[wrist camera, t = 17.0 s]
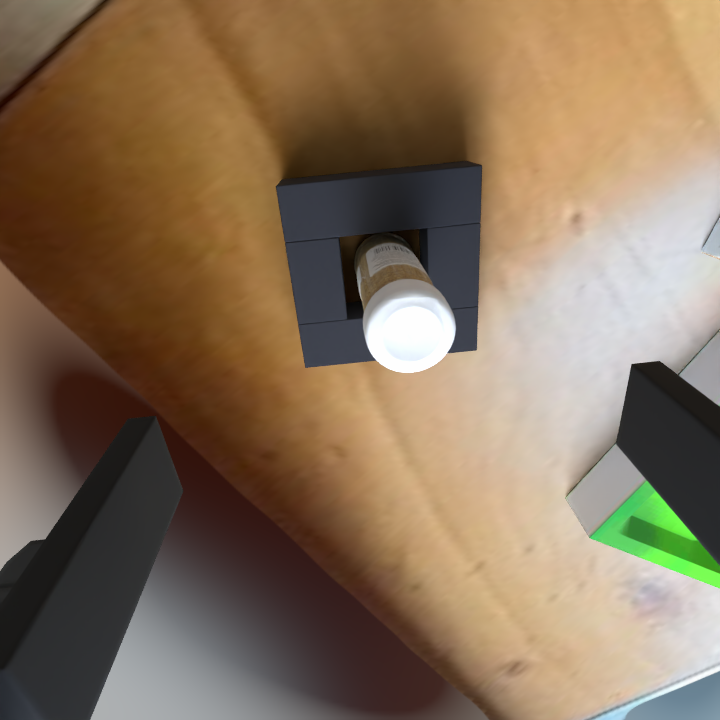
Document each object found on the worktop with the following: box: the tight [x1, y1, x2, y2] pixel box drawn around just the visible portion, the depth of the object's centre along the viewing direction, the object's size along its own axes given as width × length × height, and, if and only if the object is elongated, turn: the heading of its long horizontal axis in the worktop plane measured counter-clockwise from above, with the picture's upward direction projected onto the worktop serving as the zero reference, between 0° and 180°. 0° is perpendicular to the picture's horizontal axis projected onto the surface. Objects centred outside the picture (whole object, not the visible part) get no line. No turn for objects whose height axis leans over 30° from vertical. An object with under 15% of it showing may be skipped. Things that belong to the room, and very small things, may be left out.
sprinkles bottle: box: [354, 232, 456, 373], centre depth 29 cm, size 5×5×14 cm
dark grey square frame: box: [276, 161, 482, 368], centre depth 33 cm, size 13×13×4 cm
